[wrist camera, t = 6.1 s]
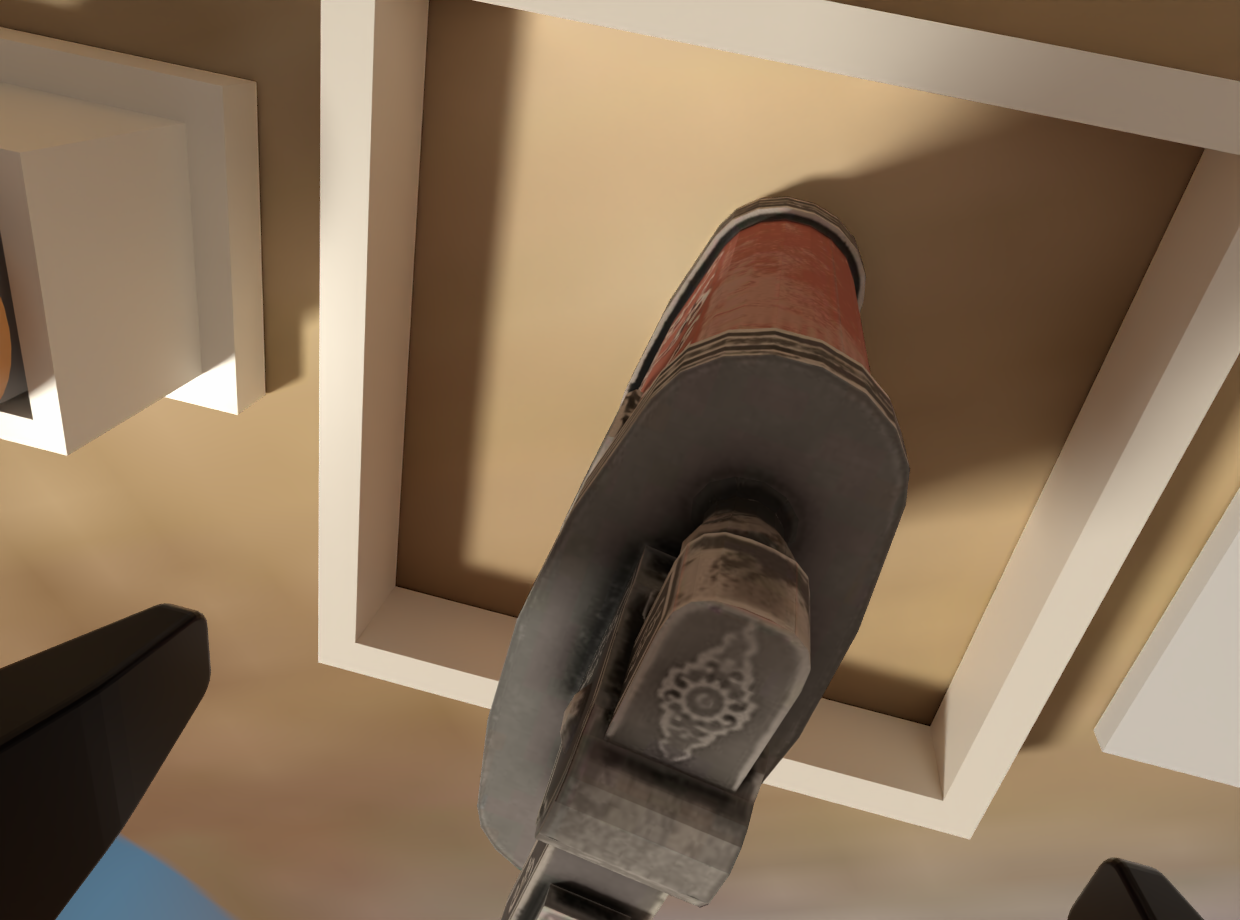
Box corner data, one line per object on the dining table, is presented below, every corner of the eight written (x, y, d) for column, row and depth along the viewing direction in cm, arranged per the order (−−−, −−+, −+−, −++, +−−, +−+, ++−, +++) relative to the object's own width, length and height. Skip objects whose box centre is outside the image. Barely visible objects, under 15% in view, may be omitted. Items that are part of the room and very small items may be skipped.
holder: (-96, -178, 14) (-443, -251, 10) (1294, 93, 12) (1525, 133, 8) (34, 518, 21) (-147, 637, 17) (954, 762, 19) (994, 961, 15)
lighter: (718, 163, 14) (581, 407, 5) (910, 244, 14) (1078, 616, 5) (565, 539, 18) (343, 1030, 9) (715, 602, 18) (632, 1151, 9)
